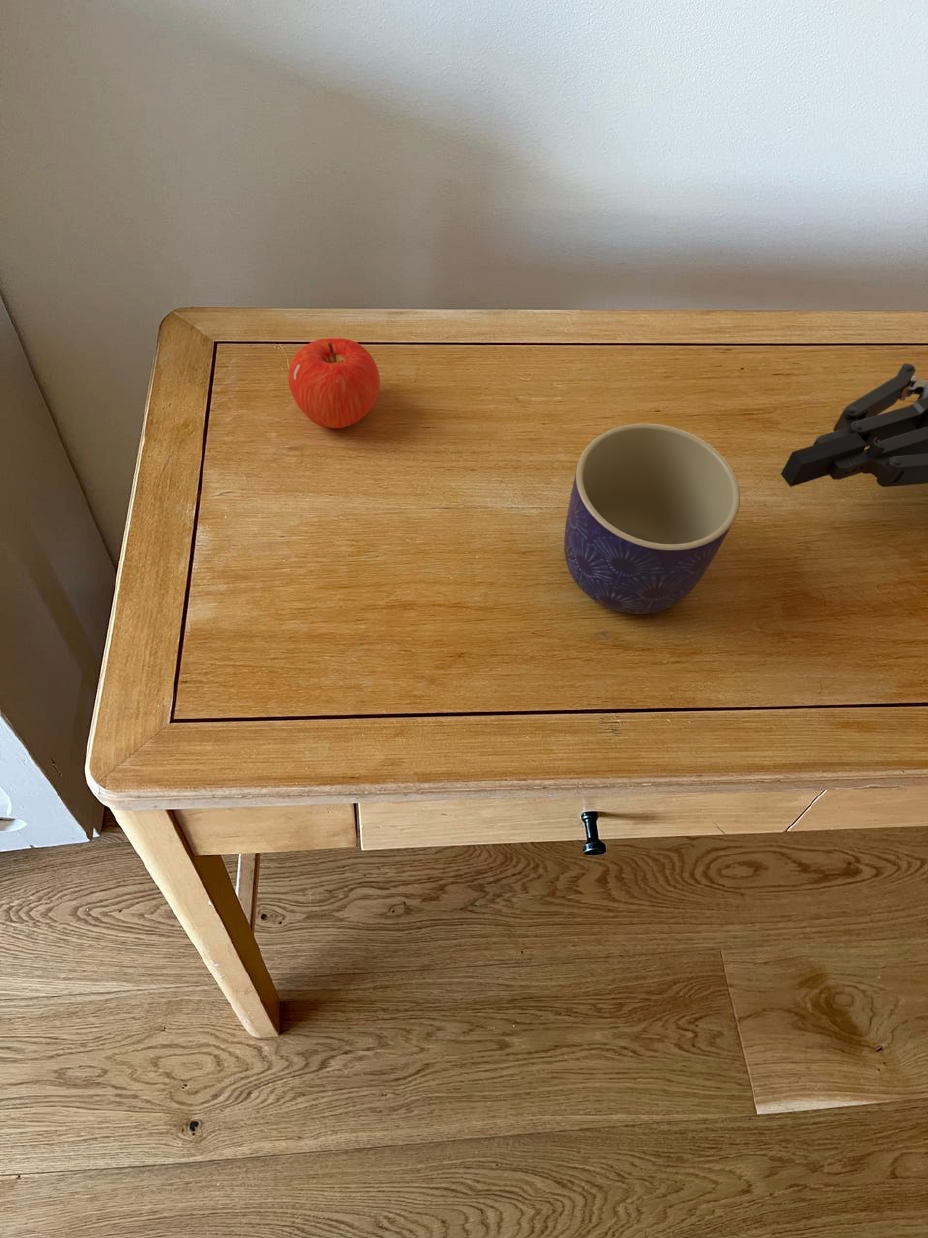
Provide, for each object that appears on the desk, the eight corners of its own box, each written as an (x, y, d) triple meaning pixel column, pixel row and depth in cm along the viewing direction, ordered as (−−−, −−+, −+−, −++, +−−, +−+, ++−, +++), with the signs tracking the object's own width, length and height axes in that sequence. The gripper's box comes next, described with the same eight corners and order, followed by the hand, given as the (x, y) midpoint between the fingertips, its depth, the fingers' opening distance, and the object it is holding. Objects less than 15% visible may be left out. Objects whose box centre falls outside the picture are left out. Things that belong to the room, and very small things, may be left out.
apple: (306, 452, 83) (299, 385, 76) (283, 391, 87) (274, 321, 80) (391, 433, 85) (392, 365, 78) (364, 373, 89) (362, 305, 82)
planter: (529, 589, 76) (548, 504, 67) (589, 490, 83) (614, 400, 74) (668, 654, 74) (708, 575, 65) (719, 547, 80) (762, 461, 71)
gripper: (1034, 482, 83) (819, 556, 76) (940, 384, 89) (734, 446, 82) (1087, 421, 76) (858, 497, 70) (983, 321, 83) (763, 382, 76)
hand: (791, 469), depth 76 cm, fingers closed
